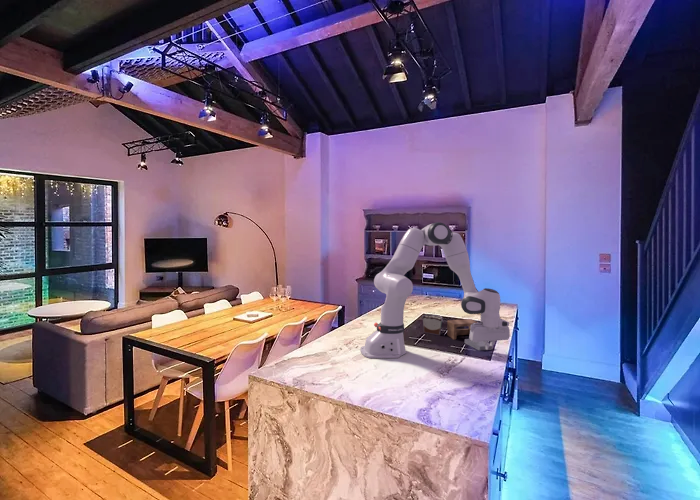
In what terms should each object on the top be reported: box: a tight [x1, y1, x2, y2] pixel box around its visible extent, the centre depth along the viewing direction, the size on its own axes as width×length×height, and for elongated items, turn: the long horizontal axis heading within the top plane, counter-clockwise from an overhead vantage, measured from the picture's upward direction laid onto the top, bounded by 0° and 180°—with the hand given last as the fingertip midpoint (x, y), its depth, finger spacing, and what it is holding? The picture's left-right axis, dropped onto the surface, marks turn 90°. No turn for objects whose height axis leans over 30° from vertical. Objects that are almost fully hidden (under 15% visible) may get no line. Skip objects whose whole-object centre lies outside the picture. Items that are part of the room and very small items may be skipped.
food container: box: [421, 313, 444, 336], centre depth 211 cm, size 12×6×10 cm, turn 58°
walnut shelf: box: [446, 318, 478, 340], centre depth 204 cm, size 15×8×8 cm, turn 102°
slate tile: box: [464, 338, 490, 351], centre depth 189 cm, size 8×12×2 cm, turn 19°
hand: (488, 349), depth 179 cm, fingers closed
